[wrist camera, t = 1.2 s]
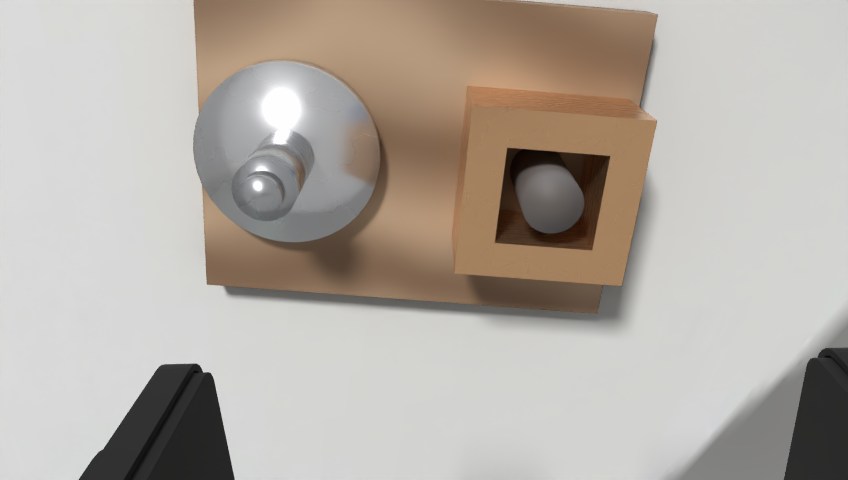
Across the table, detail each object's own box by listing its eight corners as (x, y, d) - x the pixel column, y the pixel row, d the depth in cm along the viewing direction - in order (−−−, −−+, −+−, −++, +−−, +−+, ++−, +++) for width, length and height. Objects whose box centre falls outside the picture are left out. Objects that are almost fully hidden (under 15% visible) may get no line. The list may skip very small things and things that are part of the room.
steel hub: (375, 240, 33) (364, 304, 27) (204, 226, 32) (155, 288, 27) (385, 66, 30) (375, 97, 24) (196, 51, 29) (138, 77, 24)
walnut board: (590, 299, 35) (620, 365, 30) (215, 271, 35) (175, 332, 29) (647, 11, 30) (696, 27, 24) (203, -27, 30) (151, -20, 24)
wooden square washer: (600, 247, 33) (621, 286, 29) (451, 236, 33) (454, 273, 29) (629, 98, 30) (657, 120, 26) (467, 85, 30) (472, 105, 26)
